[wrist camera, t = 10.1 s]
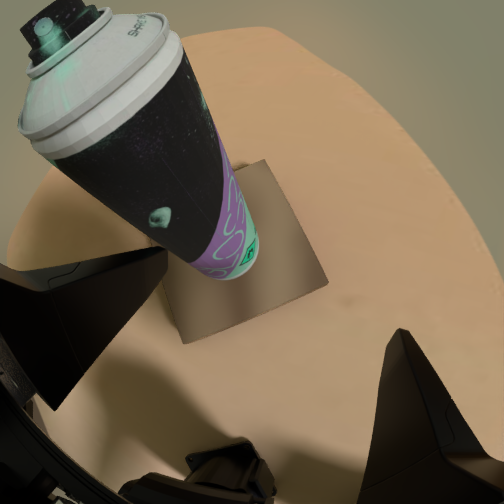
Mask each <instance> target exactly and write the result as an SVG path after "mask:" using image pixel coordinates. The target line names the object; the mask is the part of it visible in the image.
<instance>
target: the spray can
mask: <svg viewBox="0 0 504 504" xmlns="http://www.w3.org/2000/svg"><path fill="white" fill-rule="evenodd" d="M20 31H21V33H22V34H23V36H24V37H25V39H26V40H27V41H28V43H29V44H30V46H31V47H32V50H31V51H30V53H29V57H30V59H32V61H31V62H30V63H29V65H28V67H27V69H26V74H27V75H28V76H29V77H30V78H32V79H31V82H30V84H29V87H28V91H27V94H26V99H25V103H24V105H23V108H22V110H21V112H20V116H19V119H18V129H19V132H20V133H21V134H23V135H24V136H25V137H26V138H28V139H30V140H31V144H32V147H33V149H34V150H35V151H37V152H38V153H39V154H40V155H42V156H43V157H44V158H45V159H46V160H48V161H49V162H50V163H51V164H53V165H54V166H55V167H56V168H58V169H59V170H60V171H61V172H63V173H64V174H65V175H66V176H68V177H69V178H70V179H72V180H73V181H74V182H75V183H77V184H78V185H79V186H81V187H82V188H83V189H85V190H86V191H87V192H88V193H90V194H91V195H92V196H94V197H95V198H96V199H98V200H99V201H100V202H102V203H103V204H104V205H106V206H107V207H108V208H110V209H111V210H112V211H114V212H115V213H117V214H118V215H119V216H121V217H122V218H123V219H125V220H126V221H128V222H129V223H130V224H132V225H133V226H134V227H136V228H137V229H139V230H140V231H141V232H143V233H144V234H146V235H147V236H149V237H150V238H151V239H153V240H154V241H156V242H157V243H159V244H160V245H161V246H163V247H164V248H166V249H167V250H169V251H170V252H172V253H173V254H175V255H176V256H177V257H179V258H180V259H182V260H183V261H185V262H186V263H188V264H189V265H191V266H192V267H194V268H195V269H197V270H198V271H200V272H201V273H203V274H204V275H206V276H208V277H210V278H213V279H216V280H231V279H235V278H237V277H239V276H241V275H243V274H244V273H245V272H247V271H248V270H249V269H250V268H251V267H252V265H253V264H254V262H255V260H256V258H257V255H258V251H259V238H258V234H257V231H256V228H255V226H254V223H253V221H252V218H251V215H250V213H249V210H248V208H247V205H246V203H245V200H244V197H243V195H242V192H241V190H240V187H239V185H238V182H237V180H236V177H235V174H234V172H233V169H232V167H231V164H230V162H229V159H228V157H227V154H226V152H225V149H224V147H223V144H222V142H221V139H220V137H219V134H218V132H217V129H216V127H215V124H214V122H213V119H212V117H211V114H210V112H209V109H208V107H207V104H206V102H205V99H204V97H203V94H202V92H201V89H200V87H199V84H198V82H197V80H196V77H195V75H194V72H193V70H192V67H191V65H190V62H189V60H188V58H187V55H186V53H185V50H184V48H183V46H182V43H181V41H180V38H179V37H178V35H177V34H176V33H175V32H173V31H171V30H170V25H169V22H168V20H167V18H166V17H165V16H164V15H163V14H160V13H143V14H117V15H113V13H112V11H111V9H110V8H109V7H105V8H100V9H96V7H95V5H89V6H87V7H86V6H85V4H84V3H83V1H82V0H56V1H54V2H53V3H51V4H50V5H49V6H47V7H46V8H45V9H43V10H42V11H41V12H39V13H38V14H37V15H36V16H34V17H33V18H32V19H31V20H29V21H28V22H27V23H26V24H25V25H24V26H23V27H22V28H21V29H20Z"/></svg>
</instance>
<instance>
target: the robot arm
mask: <svg viewBox="0 0 504 504" xmlns="http://www.w3.org/2000/svg"><path fill="white" fill-rule="evenodd" d="M167 270H168V250H167V249H166V248H163V247H161V246H155V247H149V248H144V249H139V250H134V251H129V252H124V253H119V254H114V255H109V256H105V257H100V258H95V259H90V260H85V261H82V262H76V263H71V264H66V265H61V266H55V267H49V268H43V269H36V270H30V271H16V270H13V269H11V268H9V267H7V266H5V265H3V264H1V263H0V504H75V503H73V502H72V501H70V500H67V499H65V498H62V497H60V496H55V495H54V494H52V492H53V490H54V489H55V488H56V487H58V488H59V489H61V490H62V491H64V492H65V493H66V494H65V495H66V496H67V497H69V498H70V499H72V500H74V501H76V502H77V503H78V504H274V498H271V497H272V496H275V495H276V493H277V489H276V487H275V486H274V480H275V479H274V477H273V475H272V474H271V472H270V470H269V468H268V466H267V464H266V462H265V460H263V459H260V458H259V456H258V454H257V452H256V450H255V448H254V446H253V444H252V443H251V442H249V441H245V442H241V443H237V444H233V445H229V446H225V447H221V448H217V449H212V450H208V451H203V452H198V453H192V454H189V455H187V456H186V458H185V459H186V462H187V464H188V466H189V467H190V469H191V471H192V472H191V473H190V474H189V475H188V476H187V478H186V479H185V480H184V481H183V480H179V479H176V478H172V477H169V476H166V475H162V474H159V473H155V472H150V473H148V474H146V475H144V476H142V477H141V478H140V479H136V480H131V481H128V482H127V483H125V484H124V485H123V486H122V487H121V489H120V490H119V492H118V494H117V493H116V492H114V491H113V490H111V489H110V488H109V487H107V486H106V485H104V484H103V483H102V482H100V481H99V480H98V479H96V478H95V477H94V476H92V475H91V474H90V473H89V472H87V471H86V470H85V469H84V468H82V467H81V466H80V465H79V464H78V463H76V462H75V461H74V460H73V459H72V458H71V457H70V456H68V455H67V454H66V453H65V452H64V451H63V450H62V449H61V448H60V447H59V446H58V445H57V444H56V443H55V442H54V441H52V440H51V439H50V438H49V437H48V436H47V435H46V434H45V432H43V430H41V428H40V427H39V426H38V425H37V424H36V423H35V422H34V421H33V402H32V400H31V398H32V397H33V396H34V395H35V394H36V393H37V394H38V395H39V396H40V397H41V398H42V399H43V401H44V402H45V403H46V404H47V405H48V406H49V407H50V408H51V409H52V410H53V411H56V410H57V409H58V407H59V406H60V405H61V403H62V402H63V401H64V399H65V398H66V397H67V396H68V394H69V393H70V392H71V390H72V389H73V388H74V387H75V385H76V384H77V383H78V381H79V380H80V379H81V378H82V376H83V375H84V373H85V372H86V371H87V370H88V369H89V367H90V366H91V365H92V364H93V363H94V361H95V360H96V359H97V358H98V356H99V355H100V354H101V353H102V352H103V350H104V349H105V348H106V347H107V346H108V344H109V343H110V342H111V341H112V340H113V338H114V337H115V336H116V335H117V334H118V332H119V331H120V330H121V329H122V328H123V327H124V325H125V324H126V323H127V322H128V321H129V320H130V318H131V317H132V316H133V315H134V314H135V313H136V312H137V310H138V309H139V308H140V307H141V306H142V305H143V304H144V302H145V301H146V300H147V299H148V297H149V296H150V295H151V293H152V292H153V290H154V289H155V288H156V286H157V285H158V283H159V282H160V281H161V279H162V278H163V277H164V275H165V274H166V272H167ZM245 445H248V446H249V447H250V448H245ZM190 458H192V459H193V460H190ZM272 491H273V492H272ZM360 491H361V492H360V493H359V497H358V500H357V504H504V462H502V461H499V460H496V459H494V458H492V457H491V456H489V455H488V454H487V453H486V452H485V450H484V449H483V447H482V446H481V444H480V443H479V441H478V439H477V438H476V436H475V435H474V433H473V432H472V430H471V429H470V427H469V426H468V424H467V422H466V421H465V419H464V418H463V416H462V415H461V413H460V411H459V409H458V408H457V406H456V404H455V403H454V401H453V399H451V396H450V394H449V392H448V391H447V389H446V387H445V386H444V384H443V383H442V381H441V379H440V378H439V376H438V374H437V373H436V371H435V370H434V368H433V367H432V365H431V363H430V362H429V360H428V359H427V357H426V356H425V354H424V353H423V351H422V350H421V348H420V347H419V345H418V344H417V342H416V341H415V339H414V338H413V336H412V335H411V334H410V332H409V331H408V330H405V329H401V328H399V329H397V330H396V332H395V333H394V335H393V336H392V338H391V339H390V341H389V343H388V344H387V347H386V350H385V356H384V361H383V367H382V372H381V377H380V382H379V388H378V397H377V406H376V413H375V421H374V427H373V433H372V439H371V445H370V450H369V455H368V460H367V465H366V469H365V474H364V478H363V482H362V486H361V490H360Z"/></svg>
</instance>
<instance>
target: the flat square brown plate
mask: <svg viewBox="0 0 504 504" xmlns="http://www.w3.org/2000/svg"><path fill="white" fill-rule="evenodd" d="M234 174H235V177H236V180H237V182H238V185H239V187H240V190H241V192H242V195H243V197H244V200H245V203H246V205H247V208H248V210H249V213H250V215H251V218H252V221H253V223H254V226H255V228H256V231H257V234H258V238H259V251H258V255H257V258H256V260H255V262H254V264H253V265H252V267H251V268H250V269H249V270H248V271H247V272H245V273H244V274H243V275H241V276H239V277H237V278H235V279H231V280H216V279H213V278H210V277H208V276H206V275H204V274H203V273H201V272H200V271H198V270H197V269H195V268H194V267H192V266H191V265H189V264H188V263H186V262H185V261H183V260H182V259H180V258H179V257H177V256H176V255H175V254H173V253H172V252H170V251H169V250H168V270H167V272H166V274H165V275H164V277H163V278H162V279H161V280H162V283H163V286H164V289H165V293H166V296H167V299H168V302H169V305H170V308H171V311H172V314H173V317H174V320H175V323H176V326H177V328H178V331H179V334H180V337H181V340H182V342H183V344H189V343H192V342H195V341H197V340H200V339H203V338H205V337H208V336H210V335H213V334H215V333H218V332H220V331H223V330H225V329H228V328H230V327H233V326H235V325H238V324H240V323H243V322H245V321H247V320H250V319H252V318H254V317H257V316H259V315H262V314H264V313H266V312H268V311H271V310H273V309H275V308H278V307H280V306H282V305H284V304H287V303H289V302H291V301H293V300H295V299H298V298H300V297H302V296H304V295H306V294H309V293H311V292H313V291H315V290H317V289H319V288H321V287H323V286H326V285H327V284H328V283H329V281H328V279H327V277H326V275H325V273H324V271H323V269H322V267H321V265H320V263H319V261H318V259H317V257H316V255H315V253H314V251H313V249H312V247H311V245H310V243H309V241H308V239H307V237H306V235H305V233H304V231H303V229H302V227H301V225H300V223H299V221H298V219H297V218H296V216H295V214H294V212H293V210H292V208H291V206H290V204H289V203H288V201H287V199H286V197H285V195H284V193H283V191H282V190H281V188H280V186H279V184H278V182H277V181H276V179H275V177H274V175H273V173H272V172H271V170H270V168H269V166H268V165H267V163H266V161H265V159H263V160H261V161H258V162H256V163H253V164H251V165H249V166H246V167H244V168H242V169H239V170H237V171H235V172H234ZM150 241H151V244H152V247H155V246H161V245H160V244H159V243H157V242H156V241H154V240H153V239H151V238H150ZM161 247H163V246H161ZM163 248H164V247H163Z"/></svg>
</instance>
